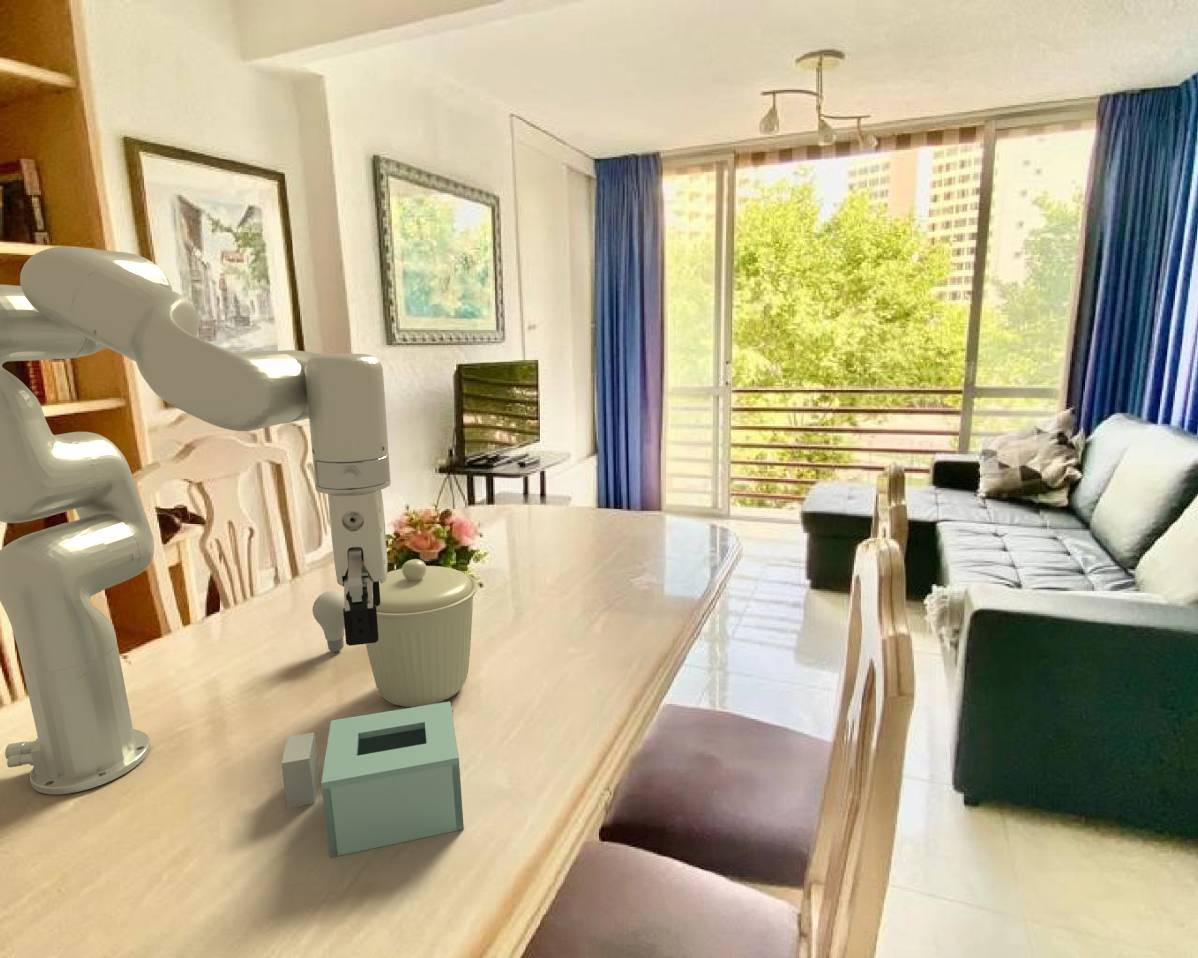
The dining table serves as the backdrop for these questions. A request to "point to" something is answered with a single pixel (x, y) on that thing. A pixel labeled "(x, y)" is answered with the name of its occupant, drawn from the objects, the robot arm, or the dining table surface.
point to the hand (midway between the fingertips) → (364, 623)
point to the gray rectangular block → (300, 770)
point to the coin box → (391, 778)
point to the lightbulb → (331, 618)
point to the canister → (422, 634)
